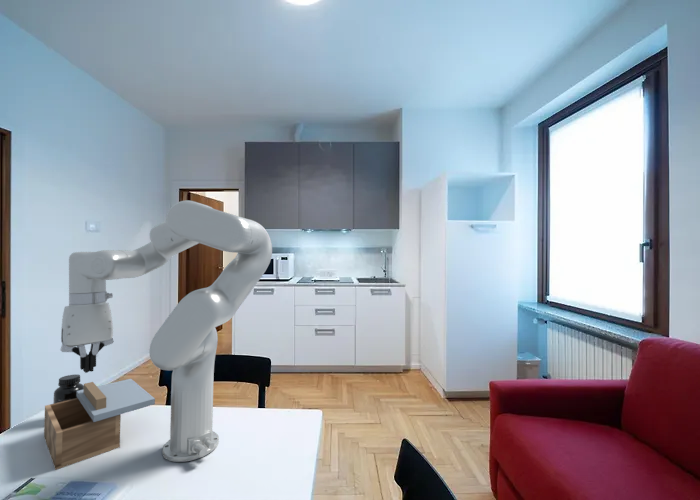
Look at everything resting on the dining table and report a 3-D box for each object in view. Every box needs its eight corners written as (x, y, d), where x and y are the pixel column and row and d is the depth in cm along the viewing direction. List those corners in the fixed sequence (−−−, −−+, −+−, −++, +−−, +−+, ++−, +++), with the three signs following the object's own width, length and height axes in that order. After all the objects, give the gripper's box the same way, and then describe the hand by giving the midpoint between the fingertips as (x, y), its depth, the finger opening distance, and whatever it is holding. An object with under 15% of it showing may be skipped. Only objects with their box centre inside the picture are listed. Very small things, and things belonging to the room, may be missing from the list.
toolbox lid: (154, 404, 87) (155, 389, 87) (93, 422, 78) (94, 405, 78) (130, 383, 101) (131, 370, 101) (76, 396, 92) (76, 381, 92)
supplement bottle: (89, 414, 99) (90, 373, 99) (66, 425, 92) (67, 382, 92) (70, 412, 100) (72, 372, 100) (46, 423, 93) (47, 380, 94)
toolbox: (119, 447, 82) (120, 414, 82) (55, 470, 73) (56, 433, 73) (100, 420, 95) (101, 392, 95) (43, 436, 86) (44, 405, 86)
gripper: (118, 295, 93) (118, 361, 93) (46, 301, 82) (47, 376, 82) (126, 297, 88) (126, 366, 88) (51, 303, 77) (51, 383, 77)
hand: (88, 370), depth 85 cm, fingers closed
